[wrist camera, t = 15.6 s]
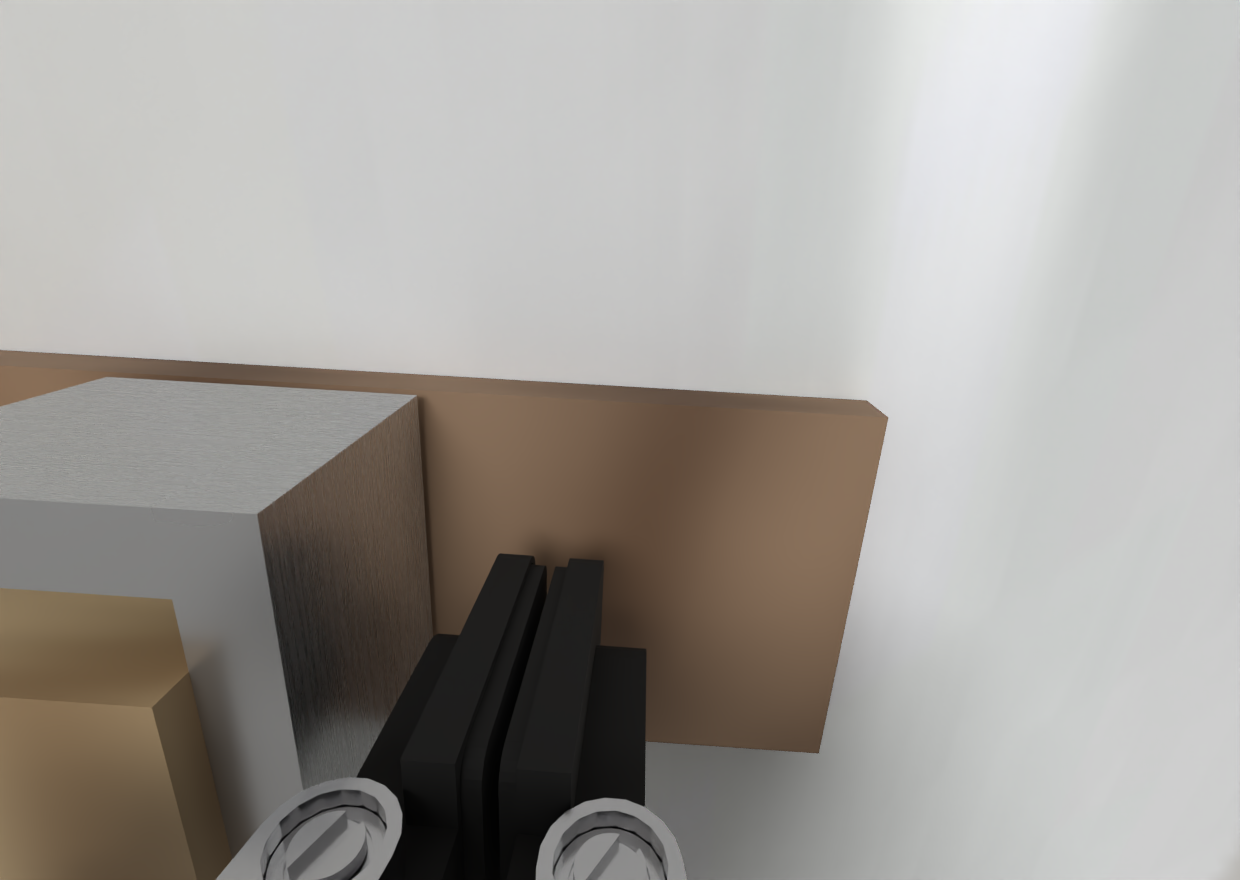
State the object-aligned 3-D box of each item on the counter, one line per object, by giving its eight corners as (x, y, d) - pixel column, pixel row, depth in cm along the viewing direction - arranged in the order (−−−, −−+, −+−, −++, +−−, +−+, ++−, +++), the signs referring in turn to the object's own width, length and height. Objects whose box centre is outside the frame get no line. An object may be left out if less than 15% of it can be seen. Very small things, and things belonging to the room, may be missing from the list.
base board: (-279, 640, 13) (-350, 671, 12) (-449, 324, 11) (-551, 333, 10) (806, 715, 13) (818, 753, 12) (866, 400, 11) (888, 417, 10)
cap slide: (189, 721, 12) (-36, 965, 8) (106, 376, 10) (-267, 481, 6) (439, 739, 12) (337, 995, 8) (417, 395, 10) (256, 514, 6)
